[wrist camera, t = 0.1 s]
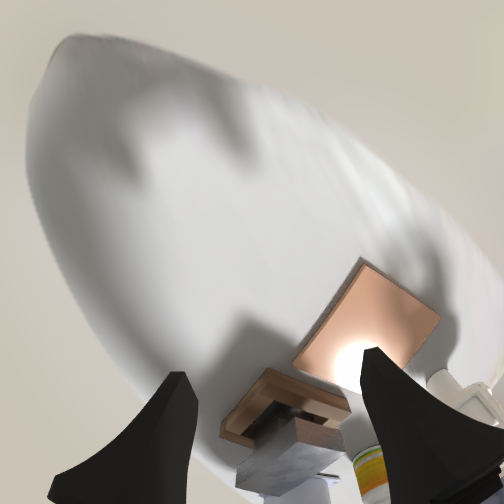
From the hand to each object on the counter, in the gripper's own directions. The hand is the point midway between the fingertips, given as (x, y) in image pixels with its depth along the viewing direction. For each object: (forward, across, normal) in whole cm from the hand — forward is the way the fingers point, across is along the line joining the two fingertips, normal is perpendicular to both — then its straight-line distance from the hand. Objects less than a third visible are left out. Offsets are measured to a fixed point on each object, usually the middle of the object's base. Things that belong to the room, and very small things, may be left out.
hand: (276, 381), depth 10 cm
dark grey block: (+8, 0, +15) cm, 17 cm away
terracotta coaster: (+9, -8, +8) cm, 15 cm away
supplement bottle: (+6, -10, +27) cm, 30 cm away
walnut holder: (+8, 0, +15) cm, 17 cm away
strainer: (+8, -17, +16) cm, 24 cm away
